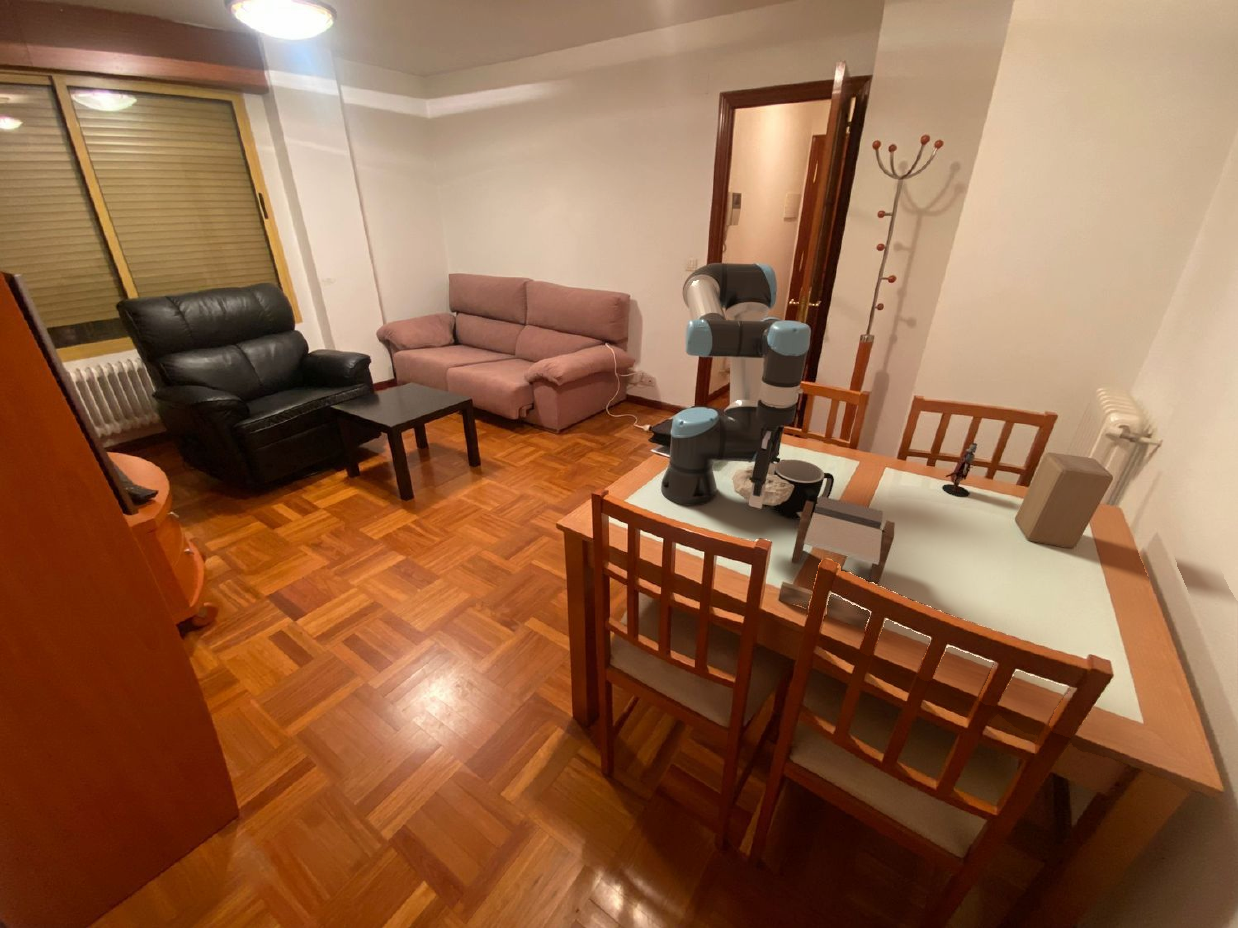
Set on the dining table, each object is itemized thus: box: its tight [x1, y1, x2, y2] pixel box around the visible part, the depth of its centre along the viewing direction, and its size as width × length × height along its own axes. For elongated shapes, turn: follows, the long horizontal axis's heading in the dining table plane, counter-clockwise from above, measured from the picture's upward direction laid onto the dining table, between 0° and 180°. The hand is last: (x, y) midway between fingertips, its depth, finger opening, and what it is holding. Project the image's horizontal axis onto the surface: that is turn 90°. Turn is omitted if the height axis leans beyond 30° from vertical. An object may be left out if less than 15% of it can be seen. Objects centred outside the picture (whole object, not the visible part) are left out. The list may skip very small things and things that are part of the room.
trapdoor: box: [804, 495, 884, 565], centre depth 104 cm, size 13×19×3 cm
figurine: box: [941, 442, 978, 498], centre depth 137 cm, size 7×7×15 cm
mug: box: [762, 459, 835, 521], centre depth 128 cm, size 16×16×12 cm
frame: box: [777, 501, 895, 630], centre depth 102 cm, size 18×20×13 cm
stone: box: [731, 465, 794, 506], centre depth 110 cm, size 8×12×10 cm
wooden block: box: [1014, 452, 1114, 549], centre depth 118 cm, size 10×10×20 cm
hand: (760, 496), depth 111 cm, fingers closed on stone, 8 cm apart
